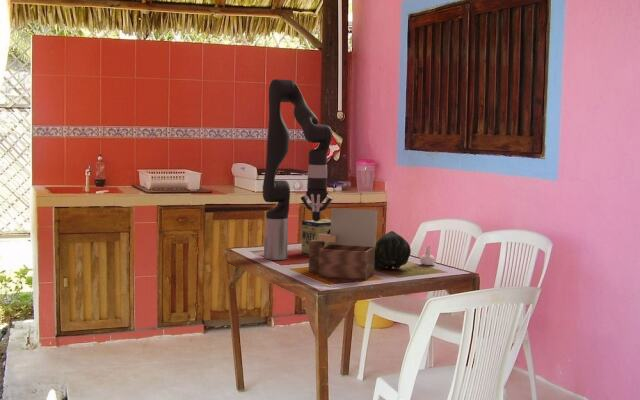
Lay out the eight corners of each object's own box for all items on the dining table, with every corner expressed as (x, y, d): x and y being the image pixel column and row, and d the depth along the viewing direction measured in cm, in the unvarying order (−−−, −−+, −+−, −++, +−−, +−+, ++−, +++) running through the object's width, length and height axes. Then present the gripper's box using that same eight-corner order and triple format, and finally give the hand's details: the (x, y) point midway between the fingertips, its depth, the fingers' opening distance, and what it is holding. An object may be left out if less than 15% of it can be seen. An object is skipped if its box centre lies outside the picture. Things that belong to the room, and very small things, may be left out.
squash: (367, 266, 287) (368, 230, 285) (401, 265, 291) (403, 229, 290) (380, 273, 273) (381, 235, 272) (416, 272, 278) (417, 234, 276)
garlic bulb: (427, 262, 301) (427, 243, 301) (438, 264, 296) (438, 245, 296) (416, 263, 298) (417, 244, 297) (427, 265, 293) (428, 246, 292)
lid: (331, 208, 276) (332, 208, 277) (329, 244, 276) (330, 244, 276) (377, 210, 271) (377, 210, 272) (375, 247, 270) (375, 247, 271)
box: (302, 275, 265) (302, 243, 264) (313, 269, 278) (314, 239, 277) (365, 280, 258) (366, 247, 257) (374, 274, 271) (374, 242, 270)
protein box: (300, 255, 313) (301, 220, 312) (326, 252, 324) (326, 218, 323) (316, 258, 306) (317, 222, 304) (342, 255, 316) (342, 220, 315)
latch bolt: (317, 241, 270) (318, 234, 270) (320, 239, 274) (321, 233, 274) (335, 242, 268) (335, 235, 268) (338, 240, 272) (338, 234, 272)
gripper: (297, 176, 269) (297, 221, 271) (331, 177, 265) (330, 223, 267) (304, 175, 276) (303, 219, 278) (336, 176, 272) (335, 221, 274)
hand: (316, 221), depth 272 cm, fingers closed
